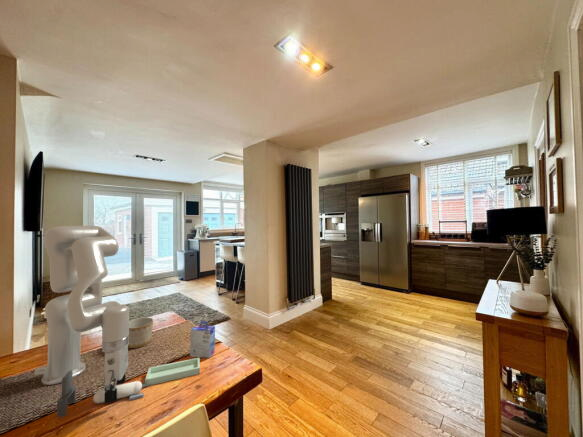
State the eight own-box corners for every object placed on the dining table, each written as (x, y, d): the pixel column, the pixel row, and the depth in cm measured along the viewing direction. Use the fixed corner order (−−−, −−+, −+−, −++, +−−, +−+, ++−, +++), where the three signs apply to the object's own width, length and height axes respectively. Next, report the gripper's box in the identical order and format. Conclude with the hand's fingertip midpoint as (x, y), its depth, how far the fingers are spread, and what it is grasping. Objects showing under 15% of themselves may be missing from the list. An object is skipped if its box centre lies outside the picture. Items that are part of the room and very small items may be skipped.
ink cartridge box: (215, 351, 109) (215, 320, 110) (210, 358, 104) (210, 326, 104) (195, 350, 110) (196, 319, 111) (189, 357, 105) (189, 324, 105)
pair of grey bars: (129, 400, 79) (129, 398, 79) (134, 387, 85) (134, 385, 85) (143, 397, 81) (143, 394, 81) (146, 384, 87) (146, 382, 87)
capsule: (91, 407, 76) (91, 395, 76) (95, 399, 80) (96, 387, 80) (140, 395, 82) (140, 384, 82) (143, 388, 85) (143, 377, 85)
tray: (145, 386, 86) (145, 379, 86) (149, 373, 93) (149, 367, 93) (199, 373, 93) (199, 367, 93) (199, 362, 100) (199, 357, 101)
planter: (117, 346, 114) (117, 325, 114) (142, 335, 125) (142, 315, 125) (134, 352, 109) (134, 330, 109) (158, 339, 120) (158, 319, 121)
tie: (56, 417, 72) (57, 381, 72) (68, 402, 78) (68, 368, 78) (65, 415, 73) (65, 380, 73) (75, 400, 79) (76, 367, 79)
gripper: (121, 352, 74) (121, 407, 74) (134, 330, 90) (134, 374, 90) (92, 358, 71) (91, 414, 71) (111, 333, 87) (110, 379, 87)
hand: (115, 392), depth 80 cm, fingers open, 9 cm apart
